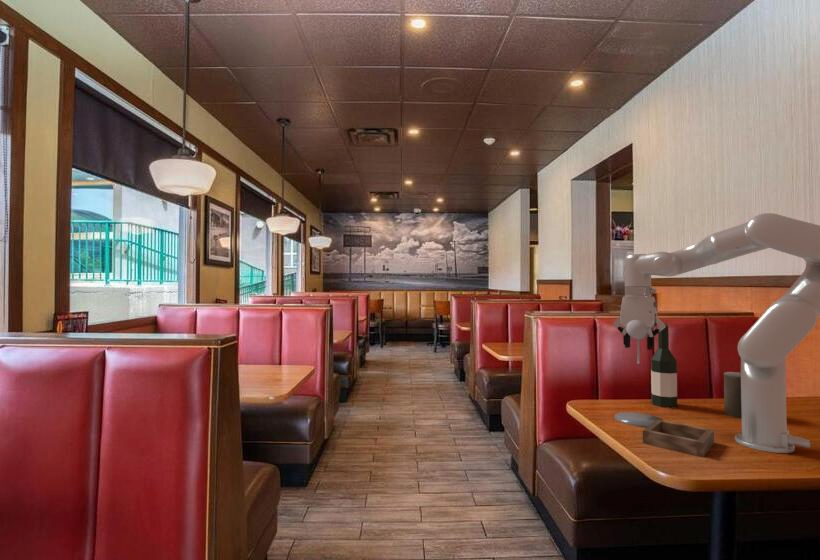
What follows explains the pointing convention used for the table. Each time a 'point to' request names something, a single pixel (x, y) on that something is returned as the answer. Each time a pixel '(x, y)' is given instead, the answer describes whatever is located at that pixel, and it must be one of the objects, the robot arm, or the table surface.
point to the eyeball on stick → (637, 333)
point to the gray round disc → (636, 419)
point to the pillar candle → (732, 394)
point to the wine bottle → (664, 373)
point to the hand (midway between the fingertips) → (638, 347)
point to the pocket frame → (679, 437)
